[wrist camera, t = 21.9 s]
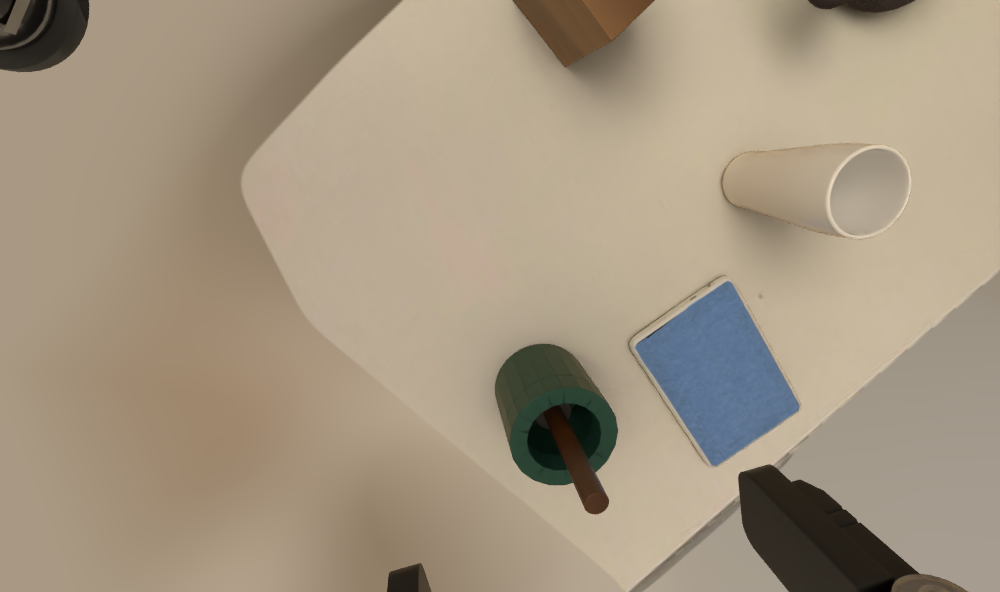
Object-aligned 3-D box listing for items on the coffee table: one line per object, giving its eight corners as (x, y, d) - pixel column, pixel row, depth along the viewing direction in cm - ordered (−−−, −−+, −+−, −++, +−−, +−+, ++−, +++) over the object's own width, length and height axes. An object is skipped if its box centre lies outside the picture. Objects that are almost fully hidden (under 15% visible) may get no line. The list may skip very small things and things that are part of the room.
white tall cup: (785, 147, 50) (927, 149, 36) (767, 217, 52) (896, 245, 38) (721, 139, 49) (841, 137, 35) (705, 210, 51) (814, 236, 37)
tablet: (623, 340, 54) (628, 345, 53) (725, 270, 53) (732, 273, 52) (706, 465, 60) (712, 472, 58) (798, 403, 59) (806, 409, 58)
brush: (528, 408, 54) (576, 531, 37) (521, 377, 53) (567, 489, 36) (561, 399, 54) (624, 517, 37) (555, 368, 53) (617, 475, 36)
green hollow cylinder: (505, 436, 55) (522, 497, 46) (485, 357, 52) (499, 404, 43) (590, 413, 56) (624, 468, 46) (575, 333, 53) (608, 375, 43)
